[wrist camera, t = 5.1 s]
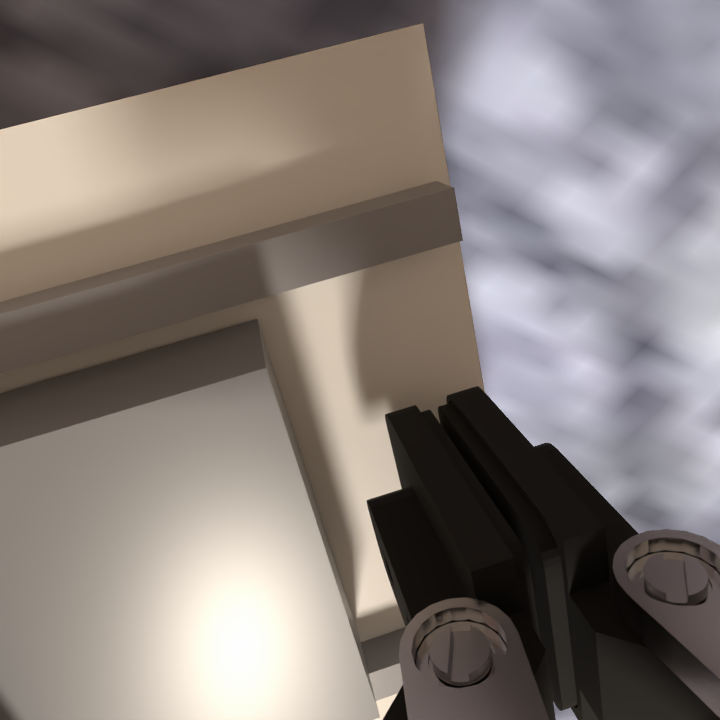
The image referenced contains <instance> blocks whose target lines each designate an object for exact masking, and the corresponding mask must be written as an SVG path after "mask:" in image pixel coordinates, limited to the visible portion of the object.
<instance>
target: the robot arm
mask: <svg viewBox="0 0 720 720" xmlns="http://www.w3.org/2000/svg"><path fill="white" fill-rule="evenodd" d="M446 402H447V404H445V405H442V406H439V407H438V415H439V420H440V423H439V421H438V420H437V418H436V417H435V416H434V414H433V413H432V411H431V410H426V411H422V412H420V410H419V409H418V407H417V406H416V405H414V406H410V407H407V408H404V409H401V410H397V411H394V412H391V413H388V414H385V420H386V425H387V429H388V434H389V438H390V442H391V446H392V450H393V455H394V459H395V463H396V467H397V471H398V475H399V480H400V484H401V488H402V489H400V490H397V491H394V492H391V493H388V494H384V495H381V496H378V497H375V498H372V499H369V500H367V506H368V510H369V514H370V518H371V521H372V525H373V529H374V533H375V536H376V540H377V543H378V547H379V550H380V553H381V557H382V560H383V563H384V566H385V569H386V572H387V575H388V579H389V581H390V584H391V587H392V590H393V593H394V596H395V598H396V601H397V604H398V607H399V610H400V612H401V615H402V618H403V621H404V624H405V626H406V628H405V630H404V633H403V635H402V638H401V640H400V651H399V659H400V666H401V674H402V681H403V685H402V687H401V689H400V690H399V692H398V694H397V696H396V697H395V699H394V701H393V702H392V704H391V706H390V708H389V709H388V711H387V713H386V715H385V716H384V718H383V720H555V713H554V706H553V701H554V703H555V705H556V706H557V708H558V709H559V710H561V711H562V710H565V709H568V708H570V707H571V709H572V710H573V712H574V714H575V715H576V717H577V719H578V720H720V545H718V544H717V543H715V542H713V541H711V540H709V539H707V538H705V537H703V536H700V535H697V534H693V533H690V532H687V531H680V530H670V529H662V530H651V531H646V532H643V533H640V534H638V533H637V532H636V531H635V530H634V529H633V528H632V527H631V525H630V524H629V523H628V522H627V521H626V520H625V519H624V518H623V517H622V516H621V515H620V514H619V513H618V512H617V511H616V510H615V509H614V508H613V507H612V506H611V505H610V504H609V503H608V502H607V500H606V499H605V498H604V497H603V496H602V495H601V494H600V493H599V492H598V491H597V490H596V489H595V488H594V487H593V486H592V485H591V484H590V483H589V482H588V481H587V480H586V479H585V478H584V477H583V475H582V474H581V473H580V472H579V471H578V470H577V469H576V468H575V467H574V466H573V465H572V464H571V463H570V462H569V461H568V460H567V459H566V458H565V457H564V456H563V455H562V454H561V453H560V452H559V451H558V449H557V448H555V447H554V446H553V445H552V444H550V443H544V444H541V445H538V446H535V447H533V446H532V444H531V443H530V442H529V441H528V440H527V439H526V438H525V437H524V436H523V434H522V433H521V432H520V431H519V430H518V429H517V428H516V427H515V426H514V424H513V423H512V422H511V421H510V420H509V419H508V418H507V417H506V416H505V414H504V413H503V412H502V411H501V410H500V409H499V408H498V407H497V406H496V404H495V403H494V402H493V401H492V400H491V399H490V398H489V397H488V396H487V394H486V393H485V392H484V391H483V390H482V389H481V388H480V387H479V386H476V387H472V388H469V389H466V390H463V391H459V392H456V393H453V394H450V395H447V397H446Z"/></svg>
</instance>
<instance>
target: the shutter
mask: <svg viewBox="0 0 720 720" xmlns="http://www.w3.org/2000/svg"><path fill="white" fill-rule="evenodd" d="M377 718H380V715H379V711H378V707H377V703H376V700H375V696H374V692H373V688H372V684H371V680H370V677H369V673H368V669H367V665H366V661H365V658H364V654H363V650H362V646H361V642H360V638H359V635H358V631H357V628H356V625H355V621H354V618H353V615H352V612H351V609H350V606H349V603H348V600H347V597H346V593H345V590H344V587H343V584H342V581H341V578H340V575H339V572H338V568H337V565H336V562H335V559H334V556H333V553H332V550H331V547H330V544H329V540H328V537H327V534H326V531H325V528H324V525H323V522H322V519H321V516H320V512H319V509H318V506H317V503H316V500H315V497H314V494H313V491H312V488H311V484H310V481H309V478H308V475H307V472H306V469H305V466H304V463H303V460H302V456H301V453H300V450H299V447H298V444H297V441H296V438H295V435H294V431H293V428H292V425H291V422H290V419H289V416H288V413H287V410H286V407H285V403H284V400H283V397H282V394H281V391H280V388H279V385H278V382H277V379H276V375H275V372H274V369H273V366H272V363H271V360H270V357H269V354H268V351H267V347H266V344H265V341H264V338H263V335H262V332H261V329H260V326H259V323H258V319H255V320H251V321H248V322H244V323H241V324H237V325H234V326H231V327H227V328H224V329H220V330H217V331H213V332H210V333H206V334H203V335H200V336H196V337H193V338H189V339H186V340H182V341H179V342H175V343H172V344H169V345H165V346H162V347H158V348H155V349H151V350H148V351H144V352H141V353H138V354H134V355H131V356H127V357H124V358H120V359H117V360H113V361H110V362H107V363H103V364H100V365H96V366H93V367H89V368H86V369H82V370H79V371H76V372H72V373H69V374H65V375H62V376H58V377H55V378H51V379H48V380H45V381H41V382H38V383H34V384H31V385H27V386H24V387H20V388H17V389H14V390H10V391H7V392H3V393H0V720H374V719H377Z"/></svg>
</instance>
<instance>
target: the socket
mask: <svg viewBox="0 0 720 720" xmlns="http://www.w3.org/2000/svg"><path fill="white" fill-rule="evenodd" d="M459 241H463V240H462V234H461V228H460V221H459V215H458V209H457V203H456V197H455V191H454V188H453V187H451V186H450V182H449V176H448V170H447V164H446V158H445V152H444V146H443V140H442V134H441V128H440V122H439V116H438V110H437V103H436V97H435V91H434V85H433V79H432V73H431V67H430V61H429V55H428V49H427V43H426V37H425V31H424V25H423V23H421V24H417V25H413V26H409V27H405V28H401V29H397V30H394V31H390V32H386V33H382V34H378V35H374V36H370V37H366V38H362V39H358V40H354V41H350V42H346V43H342V44H338V45H334V46H330V47H326V48H322V49H318V50H314V51H310V52H306V53H302V54H298V55H294V56H290V57H286V58H282V59H278V60H275V61H271V62H267V63H263V64H259V65H255V66H251V67H247V68H243V69H239V70H235V71H231V72H227V73H223V74H219V75H215V76H211V77H207V78H203V79H199V80H195V81H191V82H187V83H183V84H179V85H175V86H171V87H167V88H163V89H159V90H156V91H152V92H148V93H144V94H140V95H136V96H132V97H128V98H124V99H120V100H116V101H112V102H108V103H104V104H100V105H96V106H92V107H88V108H84V109H80V110H76V111H72V112H68V113H64V114H60V115H56V116H52V117H48V118H44V119H40V120H37V121H33V122H29V123H25V124H21V125H17V126H13V127H9V128H5V129H1V130H0V393H3V392H7V391H10V390H14V389H17V388H20V387H24V386H27V385H31V384H34V383H38V382H41V381H45V380H48V379H51V378H55V377H58V376H62V375H65V374H69V373H72V372H76V371H79V370H82V369H86V368H89V367H93V366H96V365H100V364H103V363H107V362H110V361H113V360H117V359H120V358H124V357H127V356H131V355H134V354H138V353H141V352H144V351H148V350H151V349H155V348H158V347H162V346H165V345H169V344H172V343H175V342H179V341H182V340H186V339H189V338H193V337H196V336H200V335H203V334H206V333H210V332H213V331H217V330H220V329H224V328H227V327H231V326H234V325H237V324H241V323H244V322H248V321H251V320H255V319H258V323H259V326H260V329H261V332H262V335H263V338H264V341H265V344H266V347H267V351H268V354H269V357H270V360H271V363H272V366H273V369H274V372H275V375H276V379H277V382H278V385H279V388H280V391H281V394H282V397H283V400H284V403H285V407H286V410H287V413H288V416H289V419H290V422H291V425H292V428H293V431H294V435H295V438H296V441H297V444H298V447H299V450H300V453H301V456H302V460H303V463H304V466H305V469H306V472H307V475H308V478H309V481H310V484H311V488H312V491H313V494H314V497H315V500H316V503H317V506H318V509H319V512H320V516H321V519H322V522H323V525H324V528H325V531H326V534H327V537H328V540H329V544H330V547H331V550H332V553H333V556H334V559H335V562H336V565H337V568H338V572H339V575H340V578H341V581H342V584H343V587H344V590H345V593H346V597H347V600H348V603H349V606H350V609H351V612H352V615H353V618H354V621H355V625H356V628H357V631H358V635H359V638H360V642H361V646H362V650H363V654H364V658H365V661H366V665H367V669H368V673H369V677H370V680H371V684H372V688H373V692H374V696H375V700H376V703H377V707H378V711H379V715H380V718H377V719H374V720H383V718H384V716H385V715H386V713H387V711H388V709H389V708H390V706H391V704H392V702H393V701H394V699H395V697H396V696H397V694H398V692H399V690H400V689H401V687H402V685H403V681H402V674H401V666H400V659H399V651H400V640H401V638H402V635H403V633H404V630H405V628H406V626H405V624H404V621H403V618H402V615H401V612H400V610H399V607H398V604H397V601H396V598H395V596H394V593H393V590H392V587H391V584H390V581H389V579H388V575H387V572H386V569H385V566H384V563H383V560H382V557H381V553H380V550H379V547H378V543H377V540H376V536H375V533H374V529H373V525H372V521H371V518H370V514H369V510H368V506H367V500H369V499H372V498H375V497H378V496H381V495H384V494H388V493H391V492H394V491H397V490H400V489H402V488H401V484H400V480H399V475H398V471H397V467H396V463H395V459H394V455H393V450H392V446H391V442H390V438H389V434H388V429H387V425H386V420H385V414H388V413H391V412H394V411H397V410H401V409H404V408H407V407H410V406H414V405H416V406H417V407H418V409H419V410H420V412H422V411H426V410H431V411H432V413H433V414H434V416H435V417H436V418H437V420H438V421H439V423H440V420H439V415H438V407H439V406H442V405H445V404H447V402H446V397H447V395H450V394H453V393H456V392H459V391H463V390H466V389H469V388H472V387H476V386H479V387H480V388H481V389H482V390H483V391H484V386H483V380H482V374H481V368H480V362H479V356H478V350H477V344H476V338H475V332H474V326H473V320H472V314H471V308H470V302H469V296H468V290H467V284H466V278H465V272H464V266H463V260H462V254H461V248H460V242H459Z"/></svg>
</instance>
